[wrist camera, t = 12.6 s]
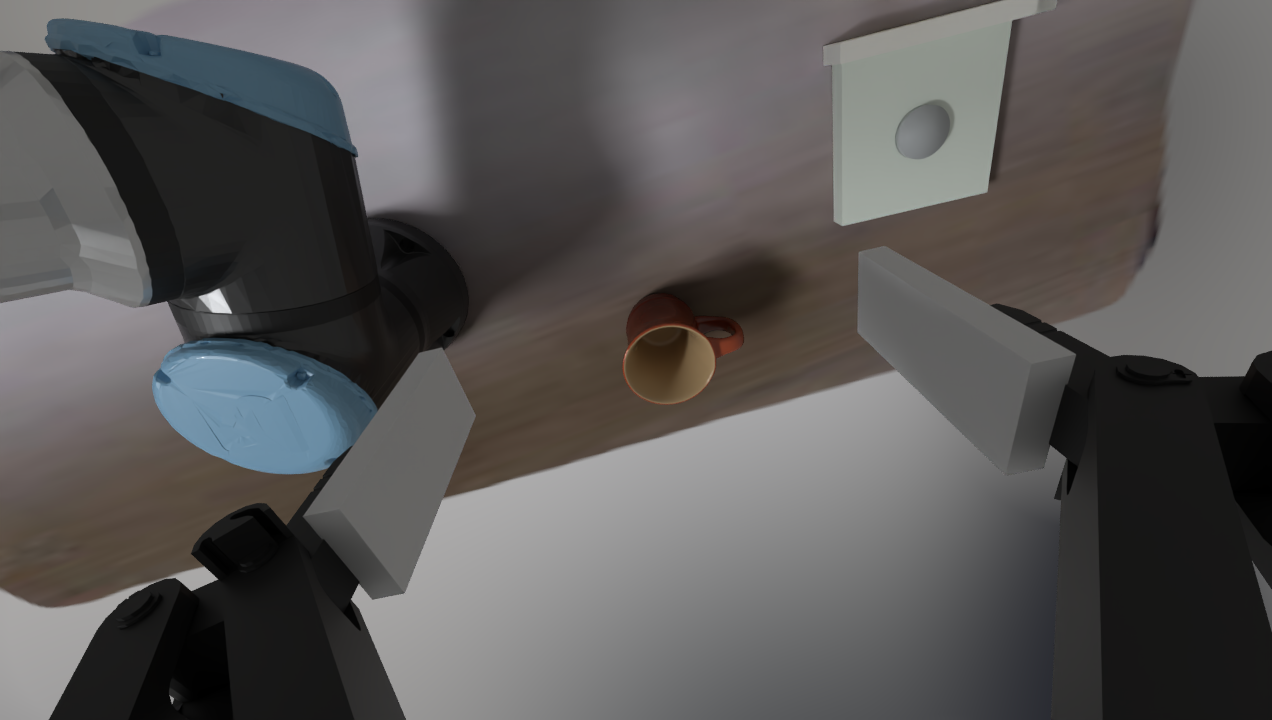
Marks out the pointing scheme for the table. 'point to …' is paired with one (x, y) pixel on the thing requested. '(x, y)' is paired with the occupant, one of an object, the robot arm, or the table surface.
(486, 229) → the table surface
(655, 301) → the mug
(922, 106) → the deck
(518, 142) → the table surface
